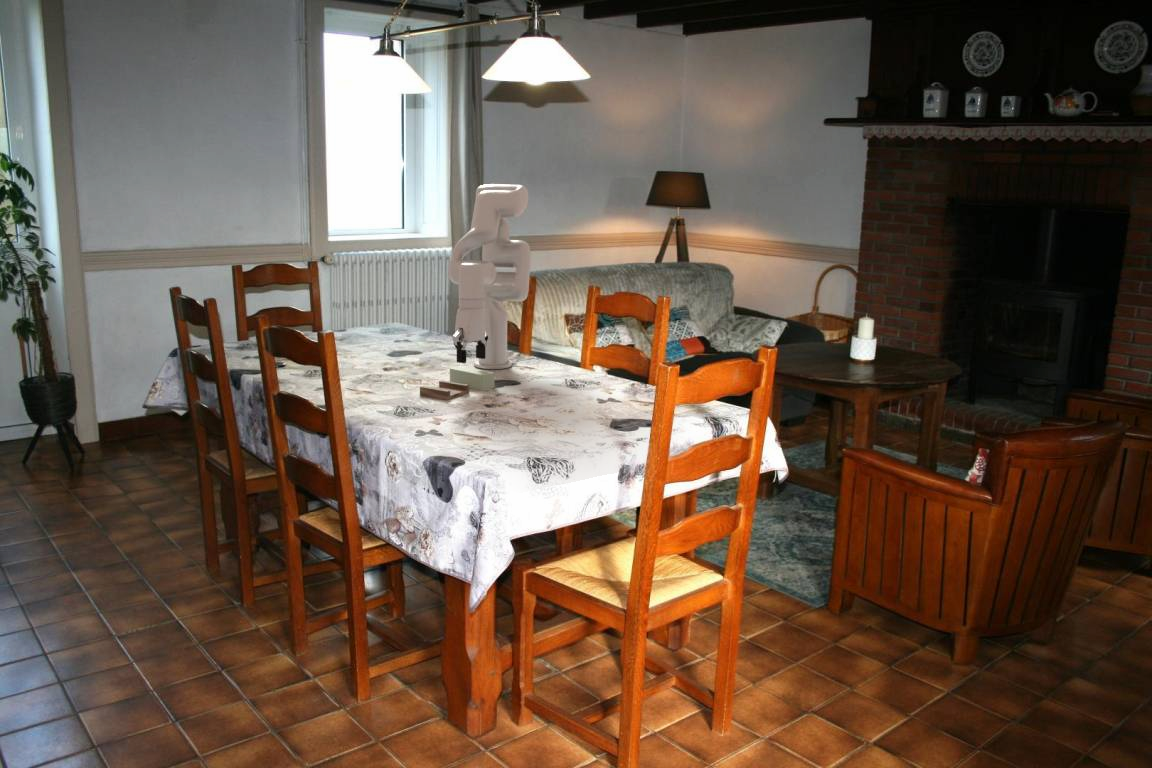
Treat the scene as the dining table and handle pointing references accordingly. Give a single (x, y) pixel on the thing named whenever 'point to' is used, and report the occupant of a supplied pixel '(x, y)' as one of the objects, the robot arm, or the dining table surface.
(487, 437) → the dining table surface
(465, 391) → the cradle
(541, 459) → the dining table surface
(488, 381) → the peg
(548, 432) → the dining table surface
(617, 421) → the dining table surface
